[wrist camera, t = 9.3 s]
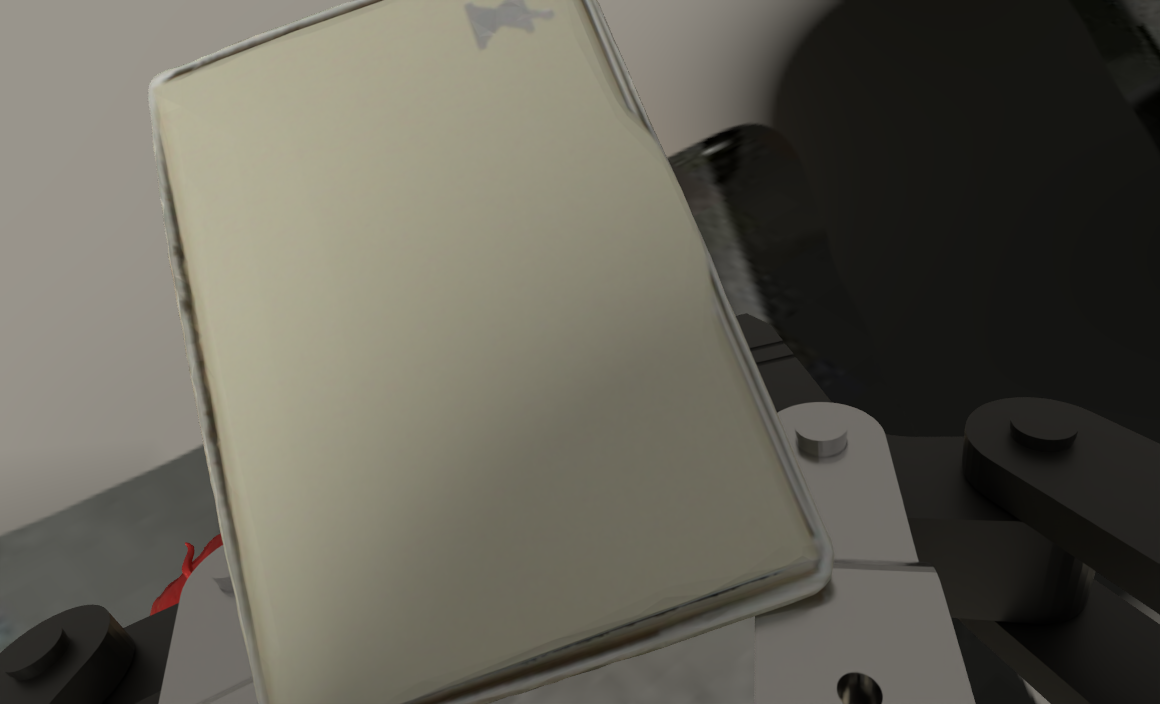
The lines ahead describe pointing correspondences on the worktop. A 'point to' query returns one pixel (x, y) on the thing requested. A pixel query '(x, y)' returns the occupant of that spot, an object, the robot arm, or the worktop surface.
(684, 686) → the worktop surface
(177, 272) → the skincare box
